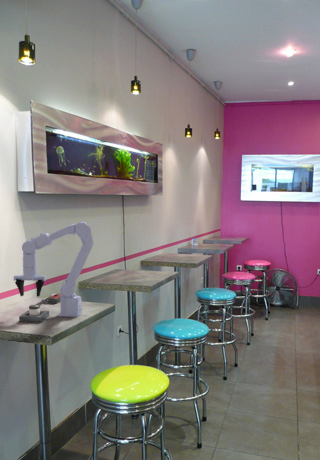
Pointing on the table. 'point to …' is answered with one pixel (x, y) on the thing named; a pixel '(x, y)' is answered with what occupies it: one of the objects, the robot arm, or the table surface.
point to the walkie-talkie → (51, 299)
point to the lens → (34, 310)
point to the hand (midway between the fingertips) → (30, 295)
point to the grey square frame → (34, 317)
